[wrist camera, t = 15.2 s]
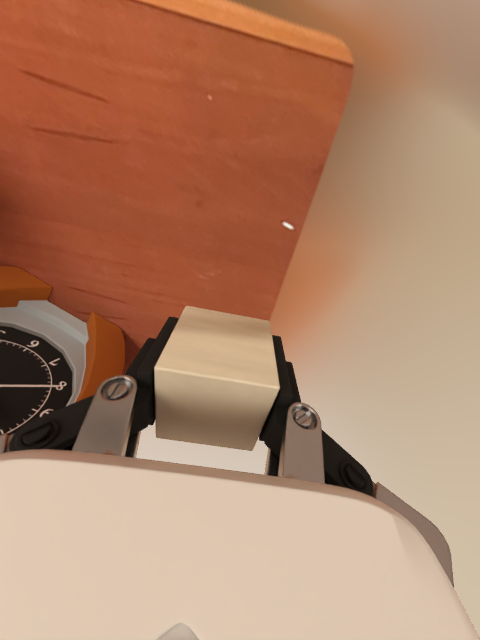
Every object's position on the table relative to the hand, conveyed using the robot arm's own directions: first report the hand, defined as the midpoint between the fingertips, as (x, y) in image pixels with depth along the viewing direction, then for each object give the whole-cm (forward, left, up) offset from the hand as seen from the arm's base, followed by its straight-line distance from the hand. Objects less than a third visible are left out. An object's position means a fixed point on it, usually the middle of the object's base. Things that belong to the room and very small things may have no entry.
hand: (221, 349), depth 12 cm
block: (0, 0, 0) cm, 0 cm away
